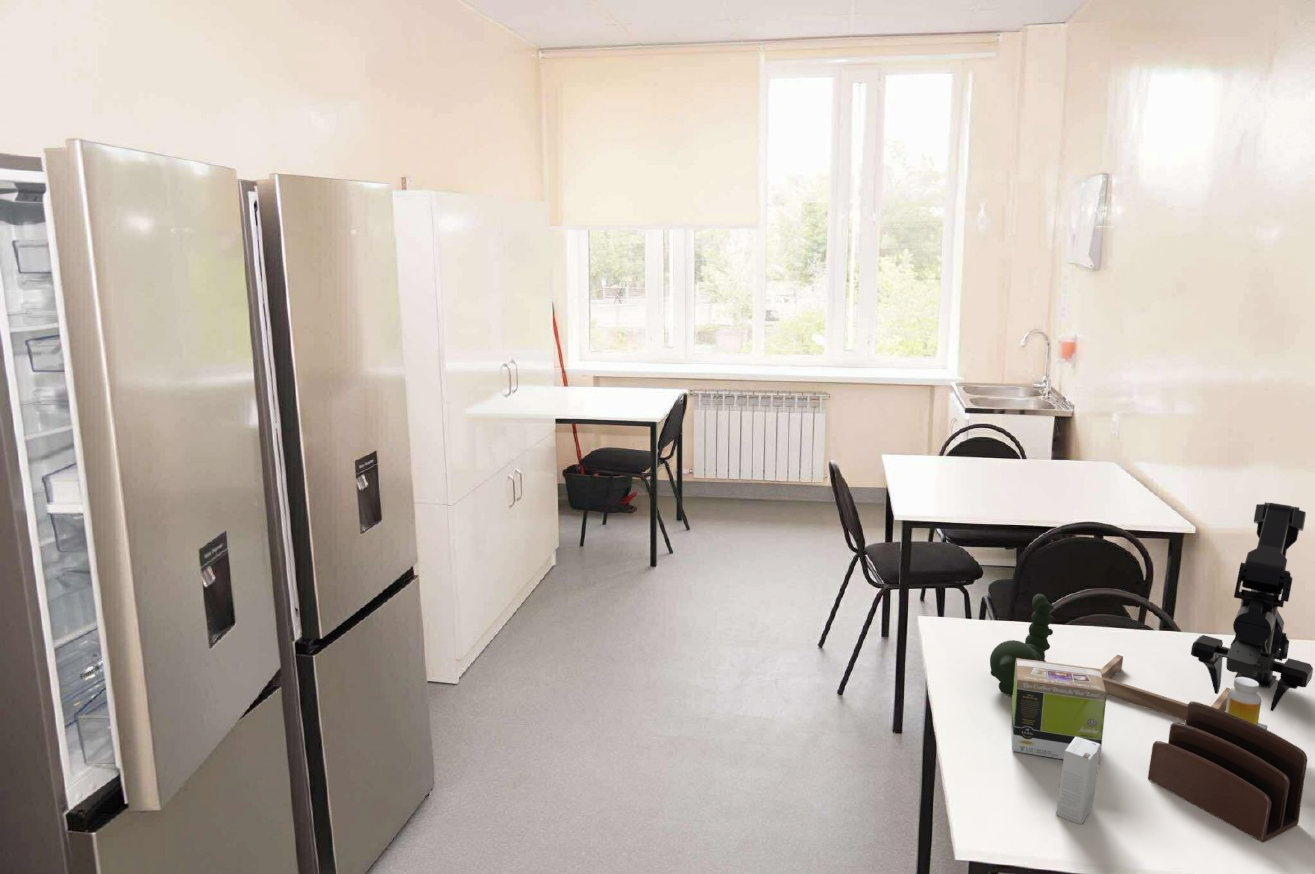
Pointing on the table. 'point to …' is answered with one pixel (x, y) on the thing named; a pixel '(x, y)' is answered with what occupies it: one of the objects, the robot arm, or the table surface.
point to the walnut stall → (1148, 693)
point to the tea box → (1055, 707)
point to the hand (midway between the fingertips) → (1244, 701)
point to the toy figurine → (1023, 646)
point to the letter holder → (1232, 771)
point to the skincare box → (1078, 779)
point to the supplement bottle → (1244, 699)
